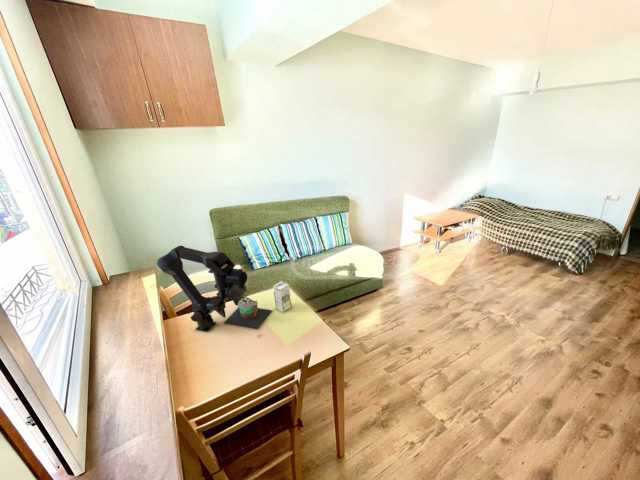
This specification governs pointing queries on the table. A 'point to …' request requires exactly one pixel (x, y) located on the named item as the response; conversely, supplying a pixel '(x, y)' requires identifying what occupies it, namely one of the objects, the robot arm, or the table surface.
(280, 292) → the syrup box
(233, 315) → the desk pad
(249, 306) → the food container
